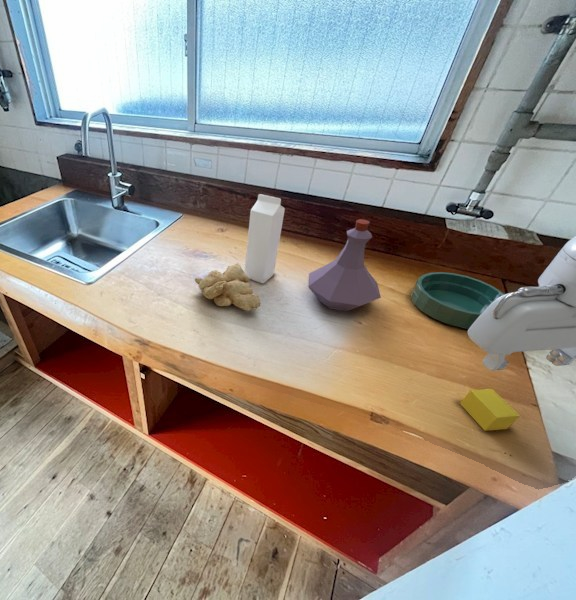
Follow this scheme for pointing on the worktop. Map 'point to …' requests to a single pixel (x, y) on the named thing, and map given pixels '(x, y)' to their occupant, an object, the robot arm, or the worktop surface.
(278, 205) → the milk
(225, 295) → the ginger root
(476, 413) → the yellow block
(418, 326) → the worktop surface
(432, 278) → the bowl
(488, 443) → the worktop surface
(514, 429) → the worktop surface
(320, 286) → the flask
